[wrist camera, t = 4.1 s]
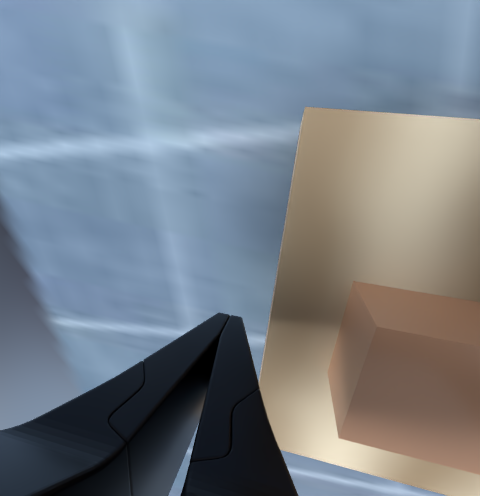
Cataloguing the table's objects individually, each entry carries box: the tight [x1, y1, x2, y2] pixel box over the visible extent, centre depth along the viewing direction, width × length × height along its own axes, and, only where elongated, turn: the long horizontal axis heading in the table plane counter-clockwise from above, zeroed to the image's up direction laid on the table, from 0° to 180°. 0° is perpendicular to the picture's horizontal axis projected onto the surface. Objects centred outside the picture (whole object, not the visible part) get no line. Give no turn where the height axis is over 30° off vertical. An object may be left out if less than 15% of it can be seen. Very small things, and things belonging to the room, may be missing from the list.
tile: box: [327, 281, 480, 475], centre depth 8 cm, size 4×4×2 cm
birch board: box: [259, 107, 480, 496], centre depth 10 cm, size 14×14×4 cm
